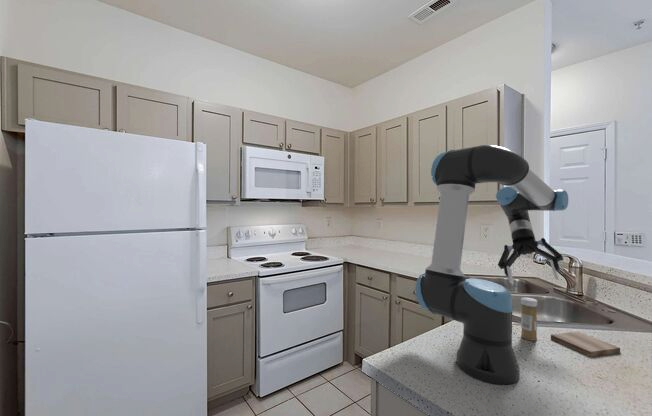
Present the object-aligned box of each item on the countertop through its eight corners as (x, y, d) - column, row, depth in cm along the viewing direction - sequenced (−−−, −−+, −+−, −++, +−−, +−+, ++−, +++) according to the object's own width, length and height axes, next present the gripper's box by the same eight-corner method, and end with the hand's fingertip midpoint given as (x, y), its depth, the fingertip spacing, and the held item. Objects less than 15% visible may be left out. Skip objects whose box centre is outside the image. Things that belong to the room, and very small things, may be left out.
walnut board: (590, 356, 85) (590, 351, 85) (550, 338, 97) (550, 334, 97) (620, 352, 88) (620, 347, 88) (578, 335, 99) (578, 331, 99)
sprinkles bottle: (540, 340, 95) (540, 300, 95) (528, 341, 95) (528, 301, 95) (529, 334, 100) (529, 296, 100) (517, 335, 99) (517, 297, 99)
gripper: (563, 231, 108) (580, 281, 95) (492, 245, 124) (498, 289, 111) (557, 219, 105) (575, 269, 91) (485, 235, 120) (491, 280, 107)
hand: (533, 280), depth 101 cm, fingers open, 13 cm apart
